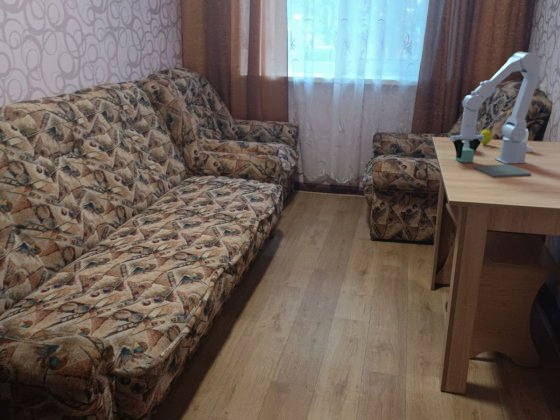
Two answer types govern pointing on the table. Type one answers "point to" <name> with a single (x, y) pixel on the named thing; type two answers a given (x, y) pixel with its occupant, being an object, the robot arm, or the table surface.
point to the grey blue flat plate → (501, 170)
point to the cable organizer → (529, 149)
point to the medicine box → (466, 143)
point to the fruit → (486, 136)
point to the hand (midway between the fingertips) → (464, 157)
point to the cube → (466, 155)
